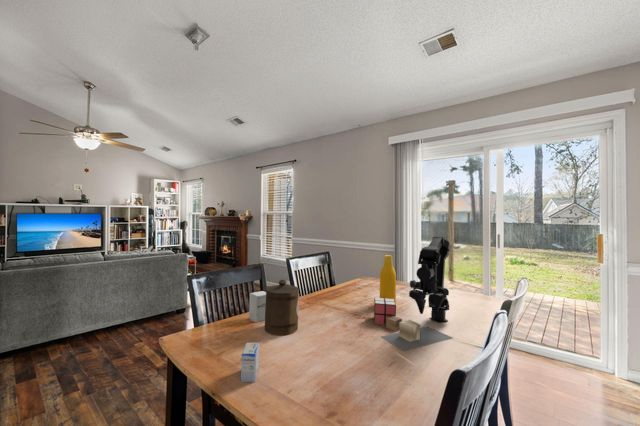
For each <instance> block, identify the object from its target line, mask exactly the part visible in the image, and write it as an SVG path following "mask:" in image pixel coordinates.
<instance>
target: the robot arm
mask: <svg viewBox="0 0 640 426" xmlns="http://www.w3.org/2000/svg"><path fill="white" fill-rule="evenodd" d="M451 248H452V247H451V243H450V241H449V240H447V239H445V237H443V236H437V235H436V236H433V237H432V240H431V241H430V243H429V244H428V246H423V248H421V250H420V251H419V257H418V260H417V261H418V262H417V265H421V267H419V268H418V269H417V270H416V276H417V278H418V279H419V281H417V280H415V279H414V280H410V281H409V287H410V288H411V289H412V290H410V291H409V292H408V297H410V298H411V299H412V300H414V301H415V303H416V305H417V309H418V311H419V314H420V315H423V313H424V310H425V306H426V304H427V303H426V302H427V299H426V297H427V296H428V308H430V309H431V312H430V315H431V317H429V320H432V321H434V322H436V323H439V324H441V323H447V322H449V320H448V319H446V311H450V303H449V300H448V296H449V295H450V293H449V291H450V290H449V289H448V288H446V287H444V285H445V282H444V281H445V271H446V267H445V266H446V259H448V257H449V255H450V252H451Z"/></svg>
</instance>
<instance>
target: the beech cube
mask: <svg viewBox="0 0 640 426" xmlns="http://www.w3.org/2000/svg"><path fill="white" fill-rule="evenodd" d="M421 328H422V325H421V324H420V323H418V322H416V321H413V320H411V319H408V320H402V322H400V329H399V332H400V337H402V338H404V339H406V340H407V341H409V342H411V341H415V340H419V339H421Z"/></svg>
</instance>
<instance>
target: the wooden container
mask: <svg viewBox="0 0 640 426" xmlns="http://www.w3.org/2000/svg"><path fill="white" fill-rule="evenodd" d="M265 292H266V306H265V320H264V331H265V333H268V334H270V335H273V336H288V335H291V334H294V333H295V332H297V331H298V326H299V287H298V286H295V285H291V284H287V280H285V279H280V280H278V284H274V285H271V286H268V287H266V290H265Z"/></svg>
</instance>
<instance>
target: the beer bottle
mask: <svg viewBox="0 0 640 426" xmlns="http://www.w3.org/2000/svg"><path fill="white" fill-rule="evenodd" d="M393 263H394V262H393V255H390V254H385V255H384V258H383V265H382V268H381V270H380V272H379V298H384V299H394V300H395V304H396V305H397V294H396V293H397V292H396V291H397V274H396V273H397V272H396V271H395V270H396V269H395V268H394V265H393Z"/></svg>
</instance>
